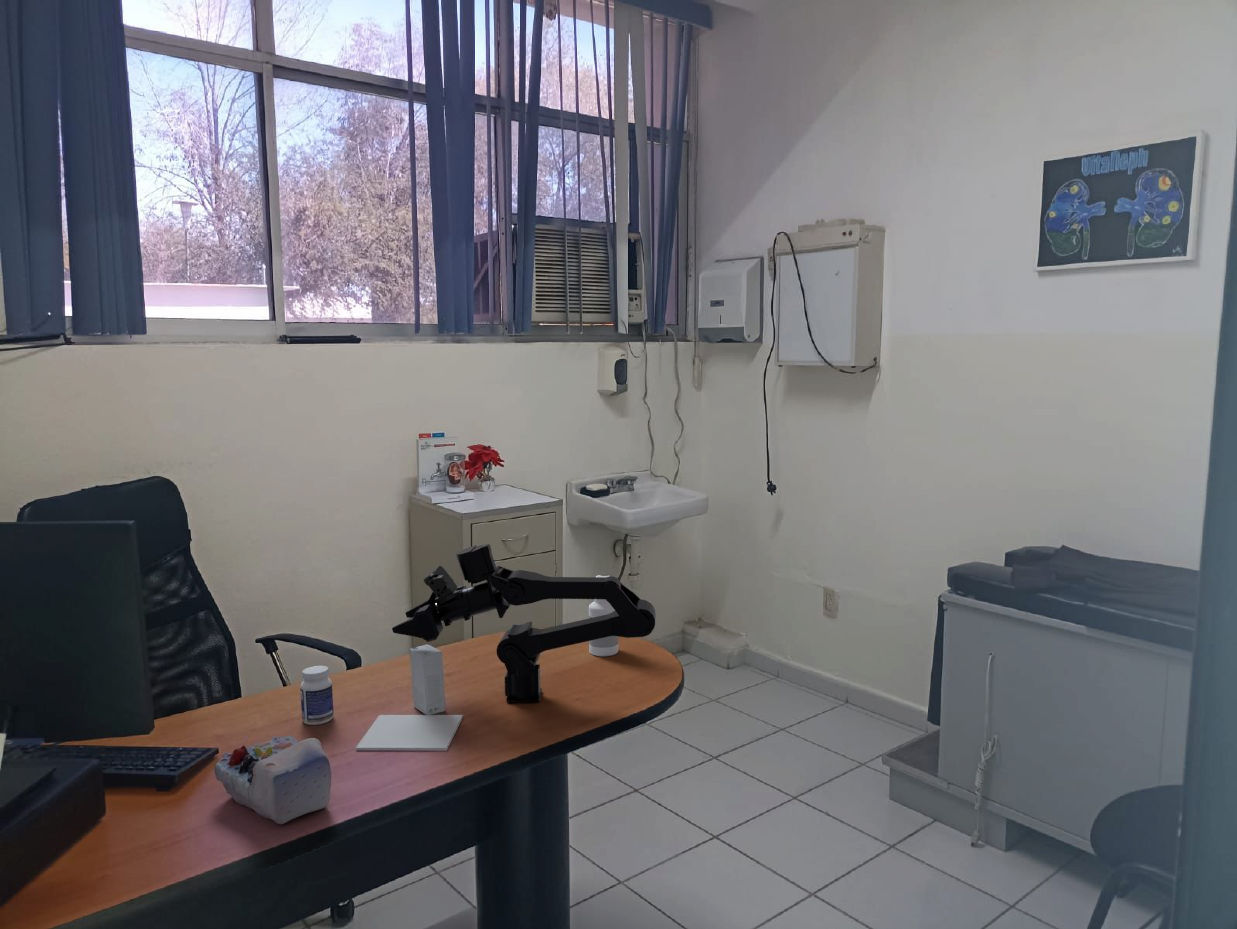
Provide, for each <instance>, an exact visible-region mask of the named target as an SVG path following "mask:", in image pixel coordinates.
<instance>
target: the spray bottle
mask: <svg viewBox="0 0 1237 929" xmlns="http://www.w3.org/2000/svg"><path fill="white" fill-rule="evenodd" d="M609 576H610V575H601V574H598V575H596V576H595V577H609ZM613 611H615V610H614V608H613V607H612V606H611V605H610V604H609V603H608V602H607V601H606V600H605V599H594V601H593V602H591V603H589V605H588V619H589V618H593V617H598V616H602V615H607V614H610V613H612V612H613ZM588 645H589V646H588V650H589V651H588V652H589V653H590V654H591V655H593V656H596V657H610V656H614V655H616V654H617V653H618V652H619V637H617V636H610V637H605V638H601V639H596V640H592V641H588Z"/></svg>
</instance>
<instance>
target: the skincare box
mask: <svg viewBox="0 0 1237 929" xmlns="http://www.w3.org/2000/svg"><path fill="white" fill-rule="evenodd" d="M409 659H410V662H409V663H410V672H411V674H410V675H411V685H412V686H411V687H412V699H413V701H412V702H413V707H414V708H415V709H417V710H419V711H420V712H422V713H423V715H437V714H440V713H442V712H443V713H444V712H446V708H447V707H446V695H445V693H446V692H445V691H446V690H445V681H444V680H445V678H444V665H443V651H441V650H439V648H436V647H434V646H433V645H430V644H427V643H426V644H423V645H420V646H419V645H418V646H415V647H411V648H409Z"/></svg>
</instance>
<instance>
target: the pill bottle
mask: <svg viewBox="0 0 1237 929" xmlns="http://www.w3.org/2000/svg"><path fill="white" fill-rule="evenodd" d="M301 674H302V679H303V681H302V682H301V684H300V686H299V688H300V705H301V706H300V707H301V708H300V709H301V719H302V723H304V724H306V725H309V726H319V725H323V724H326V723H329V722H331V720H332V719H333V718H334V716H335V715H334V698H333V697H334V696H333V695H334V694H333V682H332V679H331V678H329V677H328V675H329V674H330V672H329V667H328V666H326V665H315V666H310V667H306V668H304V669H303V670H302V673H301Z"/></svg>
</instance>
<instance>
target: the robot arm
mask: <svg viewBox="0 0 1237 929" xmlns="http://www.w3.org/2000/svg"><path fill="white" fill-rule="evenodd" d="M492 552H493V551H492V548H491V544H489V543H488V544H484V545H483V544H482V545H472V546H469V547H466V548H464V549H462V550H460V551H457V552H456V553H455V555H456V559H457V561H458V564H459V567H460V570H461V573H462V576H463V579H464V581H466V582H467V583H468V584H471V586H468V587H467V586H466V585H463V584H462V585H457V584H456V582H455V581H454V579H453V578H452V577H451V575H449V573H448V571H446V570H445V568H444V567H443V566H441V565H438V566H437V567H436V568H434V569H433V570H432V571H430V572H429V573H428V574H426V576H425V577H424V578H423V582H424V584H425V585H426V586H428V587H429V589H430V590H431V594H430V597H429V598H428V599H427V600H424V601H423V602H421V603H420V604H418V605H416V606H414V607H412V608H411V609H409V610H407V611H405V616H406V618H408V619H407V620H405V621H402V622H400V623H399V624H396V625H394V626H393V627H392V628H391V629H392V632H393V634H397V635H404V636H408V637H409V636H410V637H415V638H417V639H418V638H419V639H423V641H425V642H426V643H429V642H433V641H436V640H437V639H438V638H439V636H440V635H441V633H442V632H443V629H444V626H445V627H448V626H449V627H450V626H451V625H452V623H453V622H457V621H459V620H464V621H469V620H470V619H471V618H472V617H473V616H477V615H481V614H484V613H487V612H490V611H493V610H496V612H497V615H498V618H499V619H503V618H504V616H505V614H506V613H507V611H508V609H510V607H511V606H523V605H529V604H535V603H537V602H541V601H545V600H595V599H605V600H606V601H607V602H608V603H609V604H610V605H611V606H612V607H613V608H614V610H615V611H613V612H612V613H610V614H607V615H602V616H598V617H593V618H589V617H588V618H585V619H582V620H577V621H572V622H567V623H562V624H558V625H554V626H549V627H546V628H545V627H544V628H538V627H537V628H536V627H533V622H532V621H528V622H525V623H522V624H512V626H511V628H510V629H508V630H506V631H505V632H504V634H503V636H502V637H501V639H500V641H499V643H498V644H497V647H496V651H495V652H496V656H497V658H498V660H499V661H500V662H501V663H503V664H504V666H505V669H506V673H505V674H504V696H505V697H506V699H505V701H506V702H505V703H522V704H523V703H524V704H525V703H539V701H540V699H541V695H542V691H543V689H542V688H541V665H540V664H539V663H538V664H537V662H538V661H539V659H540V656H541V654H542V653H544V652H547V651H551V650H555V649H560V648H565V647H568V646H574V645H576V644H577V645H578V644H582V643H586V642H589V641H592V640H596V639H601V638H605V637H610V636H617V637H618V638H627V639H630V638H633V639H635V638H645V637H647V636H649V635H650V634H652V632H653V631H654V630H655V626H656V616H657V614H656V609H655V607H654V606H653V604H652V603H651V602H649V601H648V600H646V599H641V598H640V597H639V596H638V595H637V594H636V593H635V592H633V591H632V590H631V589H629V588H628V587H627V586H626V585H624V584H623V583H622V582H621V581H620V580H619V578H618V577H616V576H611V575H609V577H596V576H595V577H594V576H593V577H591V576H589V577H588V576H583V577H581V576H578V577H577V576H576V577H575V576H547V575H544V574H541V573H537V572H535V571H529V570H523V569H518V570H512V569H509V568H506V567H503V566H501V565H497V566H496V563H495V560H494V557H493V554H492ZM478 583H479V584H478ZM442 621H443V623H442ZM443 624H444V625H443Z"/></svg>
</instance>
